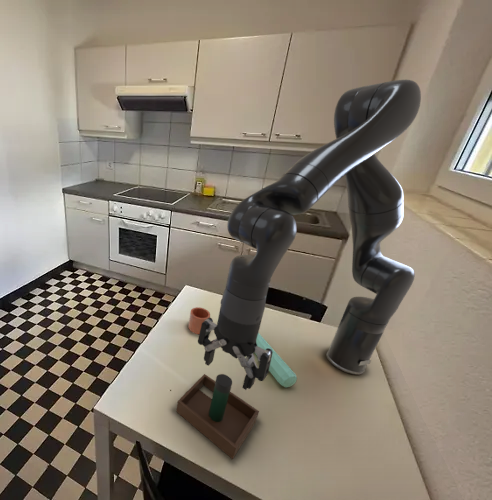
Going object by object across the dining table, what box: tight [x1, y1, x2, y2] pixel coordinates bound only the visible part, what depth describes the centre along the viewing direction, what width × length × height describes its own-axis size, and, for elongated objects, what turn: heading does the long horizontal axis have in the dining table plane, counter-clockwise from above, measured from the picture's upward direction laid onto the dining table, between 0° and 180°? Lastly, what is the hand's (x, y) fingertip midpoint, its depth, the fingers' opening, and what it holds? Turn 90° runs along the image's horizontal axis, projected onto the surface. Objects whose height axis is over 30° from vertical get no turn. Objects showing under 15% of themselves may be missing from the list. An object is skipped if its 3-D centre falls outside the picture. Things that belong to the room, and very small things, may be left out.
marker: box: [209, 373, 233, 422], centre depth 61 cm, size 3×3×11 cm
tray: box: [175, 373, 260, 460], centre depth 63 cm, size 11×14×4 cm
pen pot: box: [187, 306, 211, 335], centre depth 90 cm, size 6×6×6 cm
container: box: [254, 332, 298, 388], centre depth 82 cm, size 6×6×25 cm
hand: (226, 374), depth 58 cm, fingers open, 8 cm apart
